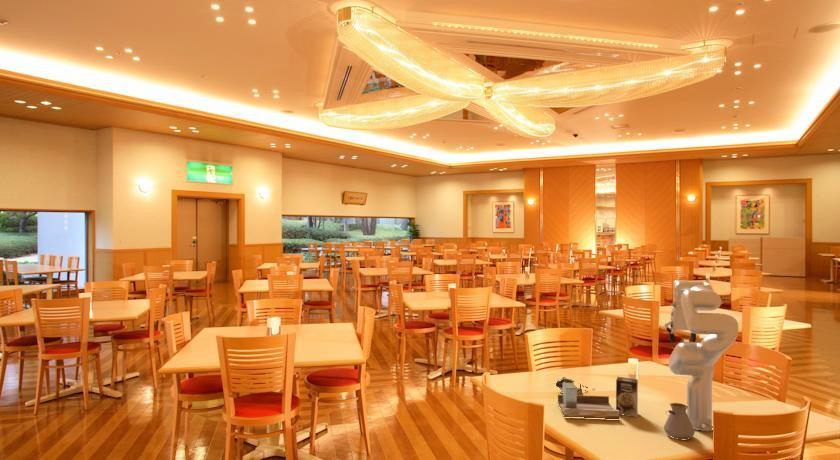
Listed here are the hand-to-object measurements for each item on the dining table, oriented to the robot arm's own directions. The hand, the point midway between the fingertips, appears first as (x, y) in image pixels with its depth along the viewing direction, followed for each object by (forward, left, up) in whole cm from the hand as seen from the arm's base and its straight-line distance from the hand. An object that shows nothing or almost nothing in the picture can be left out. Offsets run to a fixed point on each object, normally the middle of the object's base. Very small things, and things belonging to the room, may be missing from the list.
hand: (682, 341), depth 237 cm
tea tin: (-9, +55, -30) cm, 63 cm away
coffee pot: (-37, +18, -32) cm, 53 cm away
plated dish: (+23, +48, -33) cm, 63 cm away
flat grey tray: (-9, +47, -32) cm, 58 cm away
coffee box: (-9, +29, -32) cm, 44 cm away
